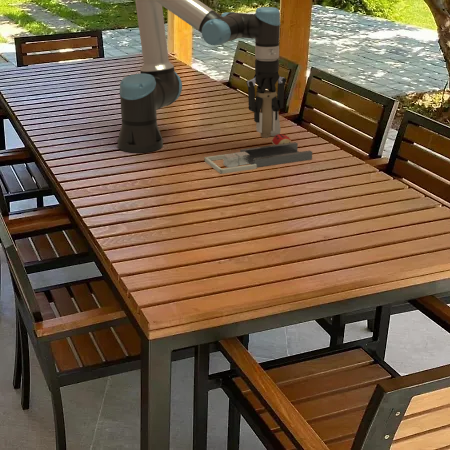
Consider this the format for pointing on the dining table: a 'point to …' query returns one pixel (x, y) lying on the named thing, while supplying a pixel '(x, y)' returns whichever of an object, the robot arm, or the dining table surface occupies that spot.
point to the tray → (226, 170)
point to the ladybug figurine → (281, 139)
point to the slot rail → (277, 154)
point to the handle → (266, 112)
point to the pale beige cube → (243, 158)
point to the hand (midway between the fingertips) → (265, 130)
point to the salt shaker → (276, 127)
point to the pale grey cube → (230, 160)
